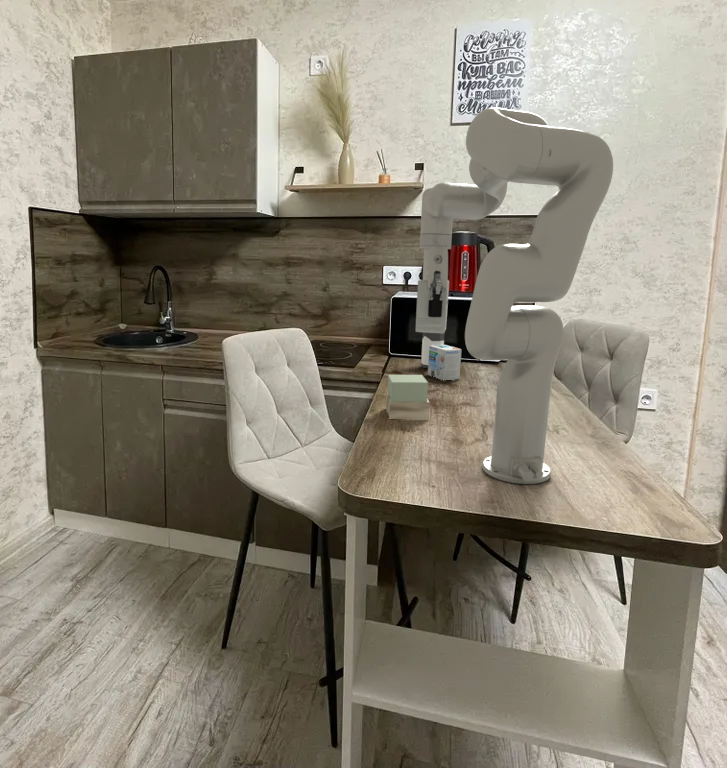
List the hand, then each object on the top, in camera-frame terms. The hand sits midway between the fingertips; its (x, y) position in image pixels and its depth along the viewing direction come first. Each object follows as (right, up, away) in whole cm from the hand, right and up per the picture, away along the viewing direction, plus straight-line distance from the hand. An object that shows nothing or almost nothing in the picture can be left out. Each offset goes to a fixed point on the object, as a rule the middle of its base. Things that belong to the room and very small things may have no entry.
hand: (431, 314), depth 129 cm
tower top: (-6, -21, +5) cm, 22 cm away
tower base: (-6, -26, +6) cm, 27 cm away
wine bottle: (+9, -11, +68) cm, 69 cm away
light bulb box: (+11, -15, +51) cm, 55 cm away
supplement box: (0, -4, +1) cm, 4 cm away
